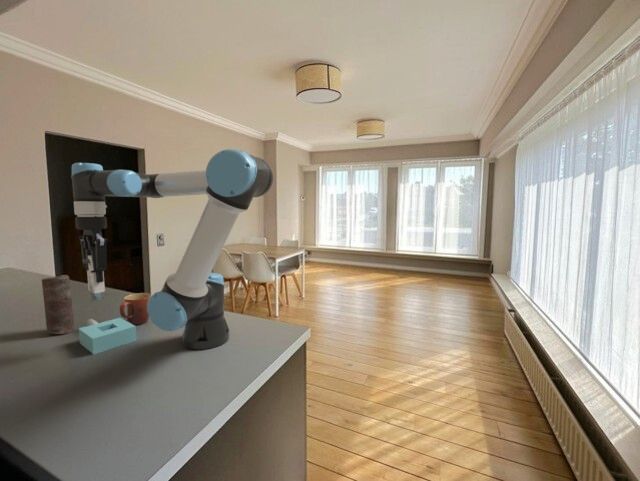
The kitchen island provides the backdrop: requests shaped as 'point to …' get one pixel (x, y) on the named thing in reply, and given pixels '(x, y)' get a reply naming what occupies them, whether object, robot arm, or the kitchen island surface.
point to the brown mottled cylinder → (58, 305)
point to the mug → (136, 308)
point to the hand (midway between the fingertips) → (96, 291)
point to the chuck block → (106, 334)
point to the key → (93, 295)
